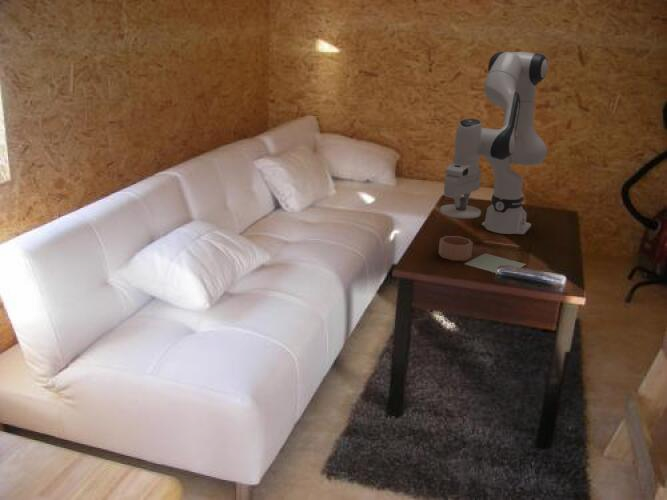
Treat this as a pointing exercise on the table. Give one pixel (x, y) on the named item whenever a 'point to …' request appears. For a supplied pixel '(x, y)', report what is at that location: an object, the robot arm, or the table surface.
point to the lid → (461, 210)
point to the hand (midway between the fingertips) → (460, 205)
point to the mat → (492, 262)
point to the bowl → (455, 248)
